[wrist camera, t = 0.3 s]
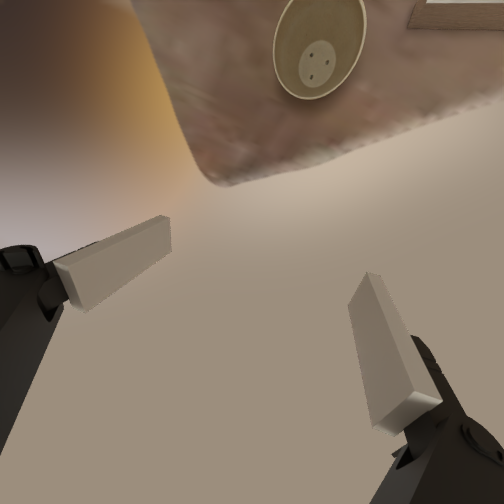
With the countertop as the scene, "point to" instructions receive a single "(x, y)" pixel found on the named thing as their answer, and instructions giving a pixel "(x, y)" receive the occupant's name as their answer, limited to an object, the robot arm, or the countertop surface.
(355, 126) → the countertop surface
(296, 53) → the flower pot
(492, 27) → the backstop rail
